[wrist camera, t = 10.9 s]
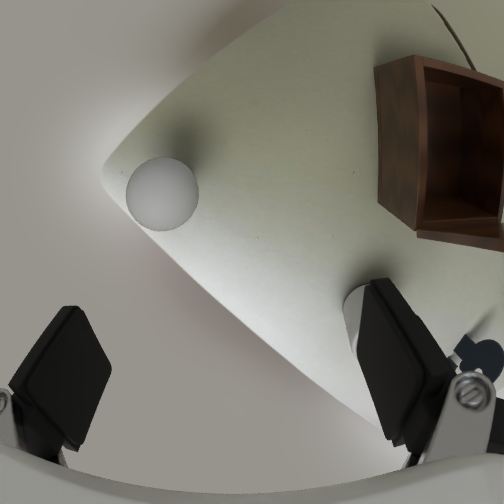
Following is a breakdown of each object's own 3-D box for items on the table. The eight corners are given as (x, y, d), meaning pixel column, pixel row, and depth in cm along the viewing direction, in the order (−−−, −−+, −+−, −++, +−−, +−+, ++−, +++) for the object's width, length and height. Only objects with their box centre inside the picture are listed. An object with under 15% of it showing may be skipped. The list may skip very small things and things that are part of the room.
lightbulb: (151, 153, 29) (106, 172, 19) (206, 143, 29) (184, 156, 19) (161, 206, 32) (124, 247, 22) (214, 198, 32) (198, 238, 22)
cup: (385, 331, 40) (405, 368, 33) (336, 342, 41) (349, 383, 34) (391, 270, 36) (418, 305, 28) (335, 282, 36) (353, 321, 29)
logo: (421, 375, 42) (457, 419, 33) (485, 293, 36) (529, 334, 27) (446, 371, 51) (475, 404, 42) (496, 307, 45) (529, 338, 36)
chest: (373, 67, 25) (413, 54, 17) (459, 82, 25) (507, 82, 17) (377, 202, 32) (414, 231, 24) (458, 200, 31) (500, 224, 23)
